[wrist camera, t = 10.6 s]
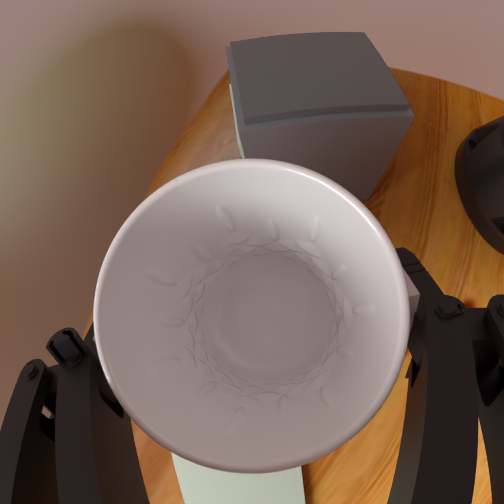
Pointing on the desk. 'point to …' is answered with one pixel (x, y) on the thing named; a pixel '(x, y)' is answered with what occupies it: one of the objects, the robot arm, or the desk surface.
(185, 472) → the coaster
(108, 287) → the white cup
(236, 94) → the block
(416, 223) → the desk surface
